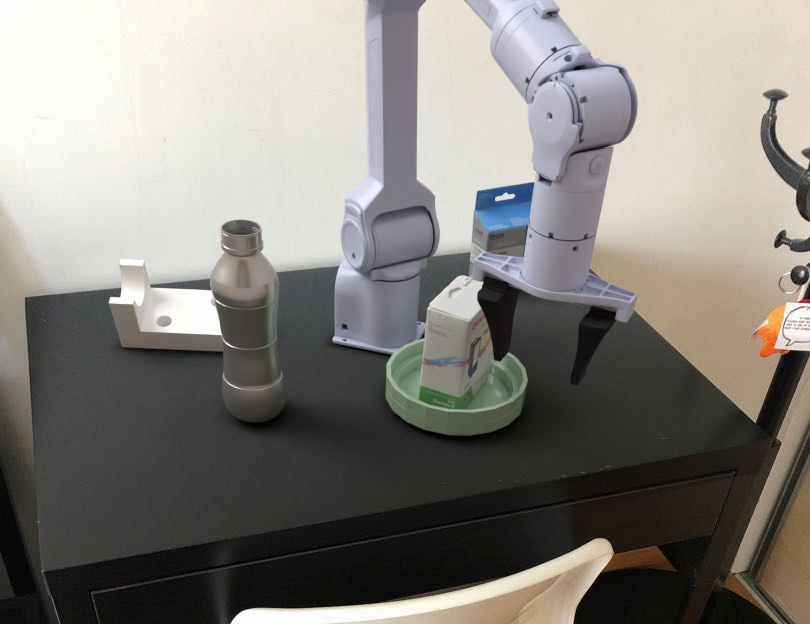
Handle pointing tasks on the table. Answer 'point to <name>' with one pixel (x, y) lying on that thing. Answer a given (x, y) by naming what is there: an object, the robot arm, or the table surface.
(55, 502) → the table surface
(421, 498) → the table surface
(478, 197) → the label tape box
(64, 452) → the table surface
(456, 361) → the ink box
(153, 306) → the bracket
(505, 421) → the bowl
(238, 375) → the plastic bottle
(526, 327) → the table surface
